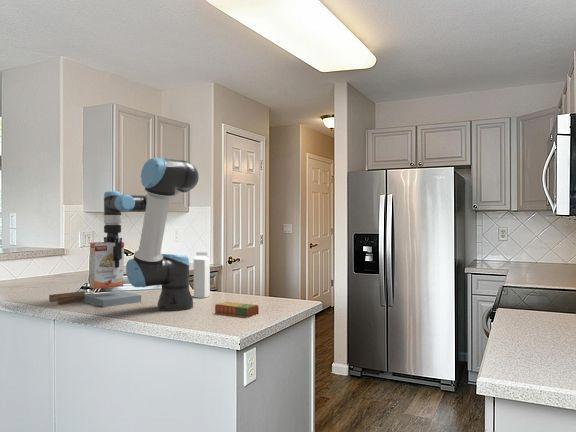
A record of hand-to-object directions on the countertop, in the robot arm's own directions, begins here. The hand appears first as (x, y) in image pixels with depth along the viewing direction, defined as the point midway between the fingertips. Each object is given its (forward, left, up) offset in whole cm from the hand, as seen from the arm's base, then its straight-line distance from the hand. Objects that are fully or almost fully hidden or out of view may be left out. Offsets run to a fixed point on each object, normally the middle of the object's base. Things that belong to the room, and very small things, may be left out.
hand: (112, 273), depth 218 cm
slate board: (0, 0, -13) cm, 13 cm away
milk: (-20, -36, -13) cm, 43 cm away
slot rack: (+17, +12, -13) cm, 24 cm away
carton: (-64, -22, -14) cm, 69 cm away
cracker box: (0, +3, -6) cm, 7 cm away
